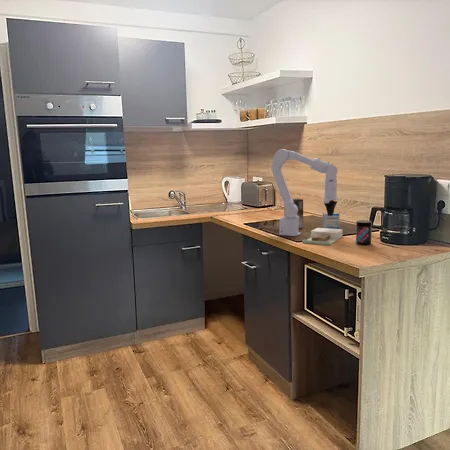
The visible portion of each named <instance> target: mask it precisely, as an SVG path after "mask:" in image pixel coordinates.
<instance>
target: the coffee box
mask: <svg viewBox="0 0 450 450" xmlns="http://www.w3.org/2000/svg"><path fill="white" fill-rule="evenodd" d="M292 199H293V202H294V204H295V205H296V206H297V207H298V212H297V216H298V218H299V229H302V228H304V199H302V198H292ZM283 211H284V213H283V217H284V216H286V215H285V207H284V206H283Z"/></svg>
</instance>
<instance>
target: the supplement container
mask: <svg viewBox="0 0 450 450" xmlns="http://www.w3.org/2000/svg"><path fill="white" fill-rule="evenodd" d="M355 223H356V224H355V225H356V226H355V228H356V229H355V243H356V245H359V246H370V245H371V244H372V235H373V234H372V230H373V228H372V226H373V222H372V221H371V220H368V219H367V220H366V219H365V220H364V219H362V220H356V222H355Z"/></svg>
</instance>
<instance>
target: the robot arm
mask: <svg viewBox="0 0 450 450" xmlns="http://www.w3.org/2000/svg"><path fill="white" fill-rule="evenodd" d="M288 160H289V161H292V160H295V161H297V162H300V163H302V164H303V163H304V164H306V165H308V166H310V169H311V170H313V171H315V172H319V173H321V174H325V179H324V199H323V200H324V201H323V204H324V206H325V208H326V209H325V210H326V213H327V214H328V216H333V213H335V208H336V205H337V203H338V201H337V200H339V199H340V197H337V191H338V190H337V189H338V188H337V187H338V186H337V185H338V179H337V178H338V177H337V175H338V168H337V166H335V165H334V164H333V163H330V162H329V161H327V162H326V161H324V160H322V159H321V158H320V157H318V158H317V157H315V158H311V157H308V156H305V155H303V154H301V153H299V152H297V151H293V150H287V149H285V148H280V149H278V150H277V151H276V152H275V154H274V155H273V158H272V163H271V172H272V175H273V178H274V181H275V183H276V185H277V188H278V191H279V194H280V197H281V199H282V203H283V208H284V207H285V215H286V216H284V215H283V216H282V217H280V219H279V223H278V224H279V228H278V229H279V230H278V231H279V232H278V235H279V236H290V237H297V236H299V235H301V234H302V232H299V229H300V228H299V218H298V216H297V212H298V207H297V206H296V205H295V204H294V202H293V199H294V198H293V197H292V195H291V192H290V190H289V186H288V184H287V182H286V179H285V175H284V172H283V171H282V168H283V167H284V164H285V163H286V162H287V161H288Z"/></svg>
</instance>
